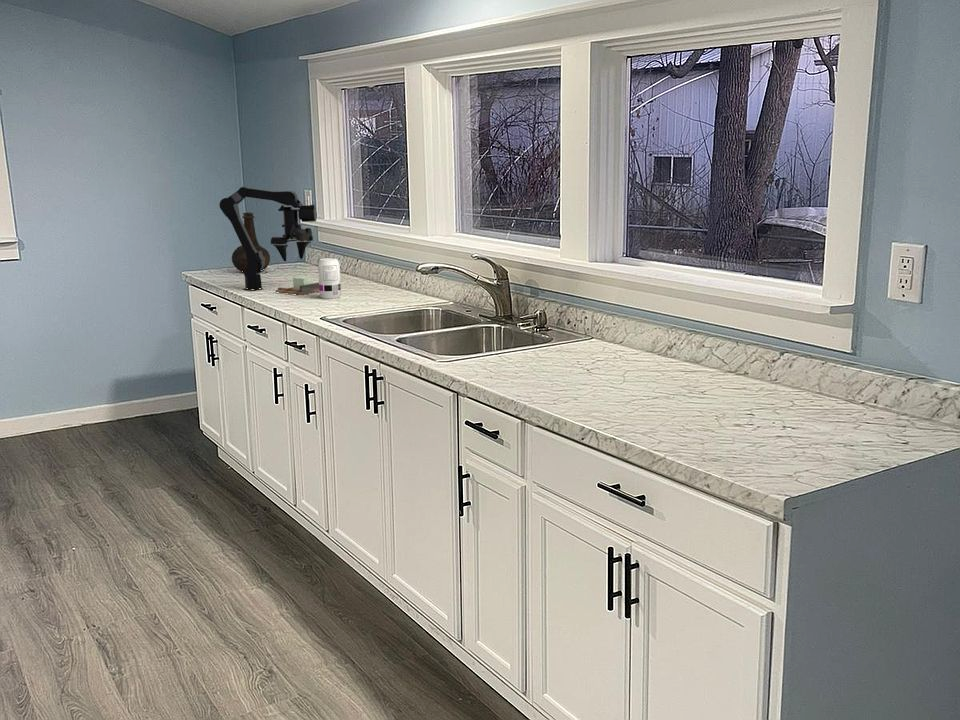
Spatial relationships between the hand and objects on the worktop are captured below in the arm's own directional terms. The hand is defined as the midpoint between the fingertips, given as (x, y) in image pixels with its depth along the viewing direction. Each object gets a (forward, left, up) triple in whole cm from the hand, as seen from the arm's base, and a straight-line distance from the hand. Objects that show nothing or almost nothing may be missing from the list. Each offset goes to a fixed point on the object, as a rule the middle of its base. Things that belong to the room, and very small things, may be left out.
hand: (293, 260), depth 392 cm
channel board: (+9, -6, -12) cm, 16 cm away
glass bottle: (-59, +29, -12) cm, 67 cm away
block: (+11, -6, -11) cm, 17 cm away
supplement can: (+30, -10, -12) cm, 34 cm away
